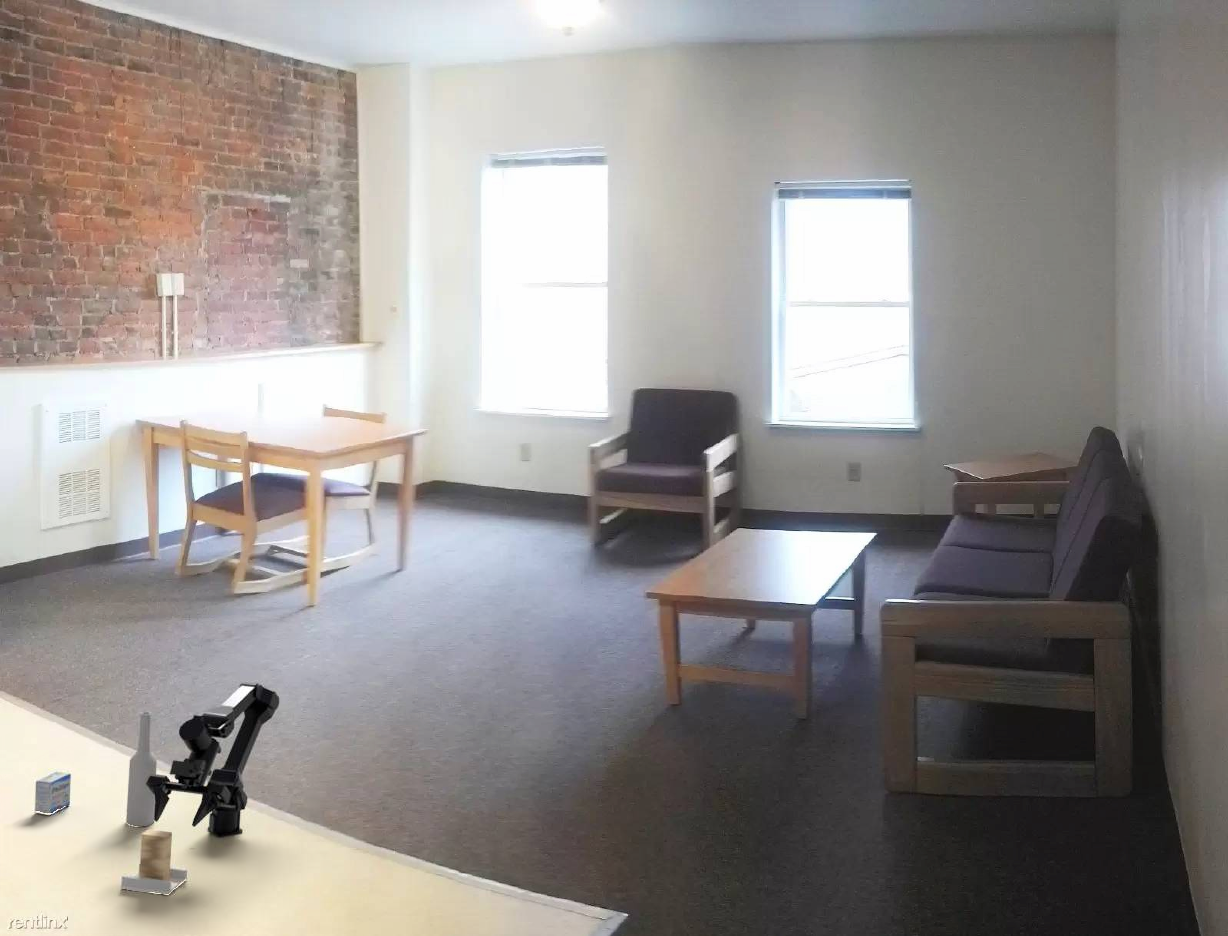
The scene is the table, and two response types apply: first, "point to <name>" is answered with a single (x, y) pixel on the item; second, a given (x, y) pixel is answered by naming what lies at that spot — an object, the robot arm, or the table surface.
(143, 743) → the bottle
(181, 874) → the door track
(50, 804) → the medicine box
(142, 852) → the wooden block
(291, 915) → the table surface
